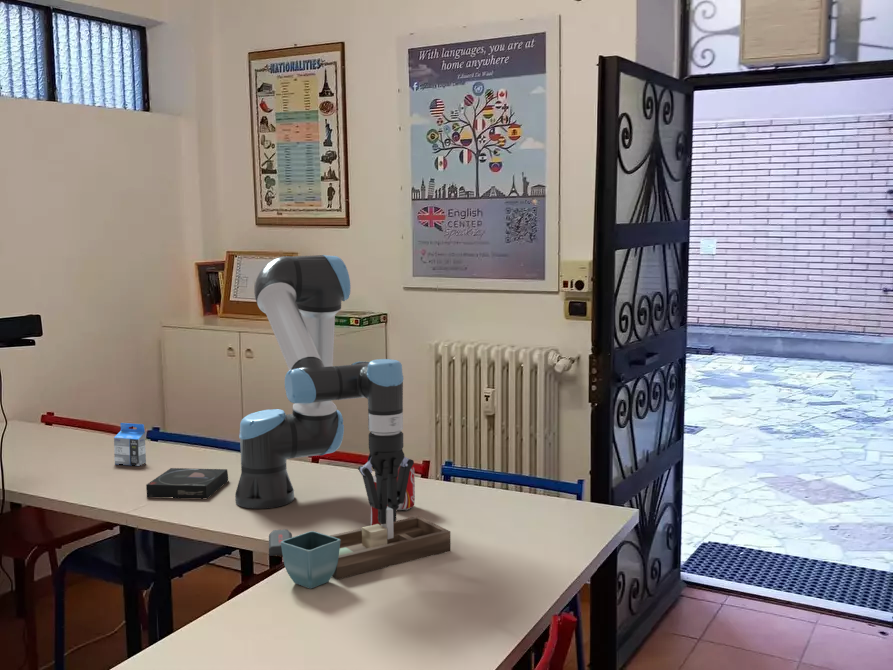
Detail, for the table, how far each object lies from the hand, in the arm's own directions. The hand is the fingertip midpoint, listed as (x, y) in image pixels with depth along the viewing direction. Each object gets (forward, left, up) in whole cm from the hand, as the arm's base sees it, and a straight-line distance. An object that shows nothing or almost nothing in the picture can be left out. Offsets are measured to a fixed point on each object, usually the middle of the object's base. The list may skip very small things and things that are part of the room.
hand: (387, 536), depth 198 cm
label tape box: (-110, -26, -4) cm, 113 cm away
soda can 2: (-26, +19, -4) cm, 33 cm away
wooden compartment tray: (0, -2, -4) cm, 4 cm away
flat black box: (-74, -20, -5) cm, 77 cm away
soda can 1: (-17, +8, -4) cm, 19 cm away
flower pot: (+5, -21, -4) cm, 22 cm away
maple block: (0, -3, -1) cm, 3 cm away
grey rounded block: (-19, -17, -5) cm, 26 cm away
